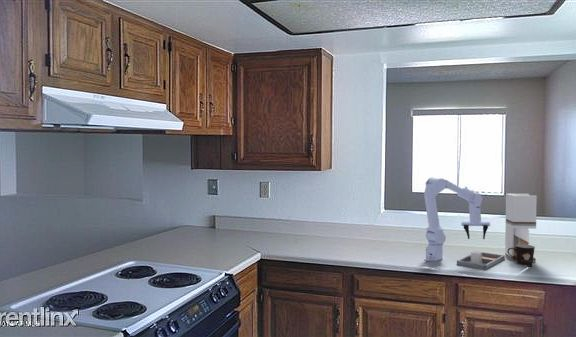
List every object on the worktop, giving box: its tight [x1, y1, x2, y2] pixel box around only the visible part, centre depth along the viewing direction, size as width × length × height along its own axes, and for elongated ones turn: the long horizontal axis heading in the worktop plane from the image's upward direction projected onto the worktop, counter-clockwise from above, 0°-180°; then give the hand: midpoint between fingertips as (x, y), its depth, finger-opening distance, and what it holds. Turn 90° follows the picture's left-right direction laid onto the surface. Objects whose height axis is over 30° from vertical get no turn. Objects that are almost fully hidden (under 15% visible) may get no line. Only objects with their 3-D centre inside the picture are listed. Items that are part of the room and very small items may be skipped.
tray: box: [456, 251, 506, 271], centre depth 224 cm, size 28×14×3 cm, turn 136°
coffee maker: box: [504, 193, 538, 263], centre depth 232 cm, size 11×11×35 cm
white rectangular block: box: [470, 251, 482, 265], centre depth 219 cm, size 4×4×6 cm
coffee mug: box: [507, 244, 536, 268], centre depth 221 cm, size 12×9×10 cm
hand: (476, 238), depth 239 cm, fingers open, 7 cm apart
